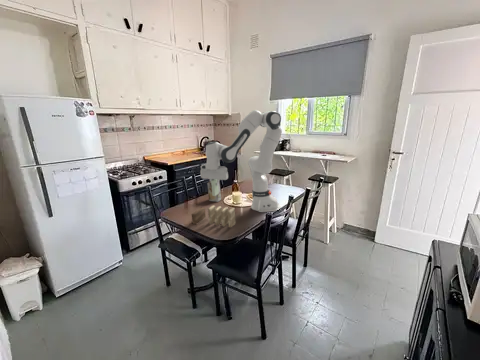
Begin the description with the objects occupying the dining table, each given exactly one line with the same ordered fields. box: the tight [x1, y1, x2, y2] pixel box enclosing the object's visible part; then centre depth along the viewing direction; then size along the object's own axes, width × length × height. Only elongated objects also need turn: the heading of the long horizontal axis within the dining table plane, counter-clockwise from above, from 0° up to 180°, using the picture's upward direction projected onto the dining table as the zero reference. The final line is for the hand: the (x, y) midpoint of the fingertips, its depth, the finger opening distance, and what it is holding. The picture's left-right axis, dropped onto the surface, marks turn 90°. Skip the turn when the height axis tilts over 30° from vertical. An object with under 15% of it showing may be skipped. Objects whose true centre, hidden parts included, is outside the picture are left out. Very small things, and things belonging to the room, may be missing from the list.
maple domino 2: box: [214, 205, 223, 226], centre depth 153 cm, size 2×6×11 cm, turn 157°
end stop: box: [191, 207, 206, 225], centre depth 160 cm, size 3×12×7 cm, turn 157°
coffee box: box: [207, 181, 222, 203], centre depth 196 cm, size 9×6×16 cm
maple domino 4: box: [228, 207, 236, 229], centre depth 149 cm, size 2×6×11 cm, turn 157°
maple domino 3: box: [221, 206, 229, 228], centre depth 151 cm, size 2×6×11 cm, turn 157°
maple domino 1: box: [207, 204, 216, 225], centre depth 155 cm, size 2×6×11 cm, turn 157°
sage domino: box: [211, 179, 219, 196], centre depth 163 cm, size 2×6×11 cm, turn 157°
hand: (215, 185), depth 162 cm, fingers closed on sage domino, 2 cm apart
